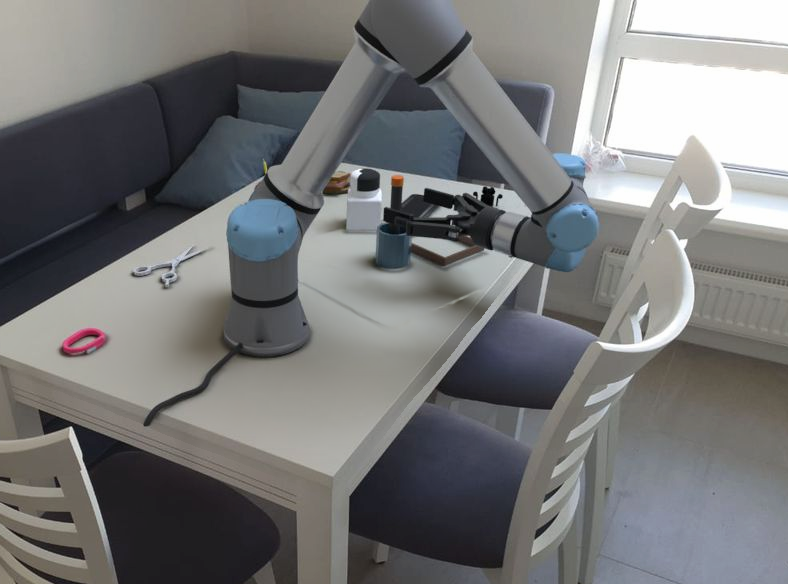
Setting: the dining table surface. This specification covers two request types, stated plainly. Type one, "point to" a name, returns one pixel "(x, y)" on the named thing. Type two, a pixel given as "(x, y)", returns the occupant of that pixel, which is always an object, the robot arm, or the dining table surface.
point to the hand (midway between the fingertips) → (405, 204)
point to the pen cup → (392, 247)
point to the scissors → (170, 263)
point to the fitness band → (88, 347)
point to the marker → (396, 199)
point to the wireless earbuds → (488, 196)
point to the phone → (417, 206)
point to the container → (364, 200)
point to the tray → (450, 258)
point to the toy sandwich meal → (338, 183)
